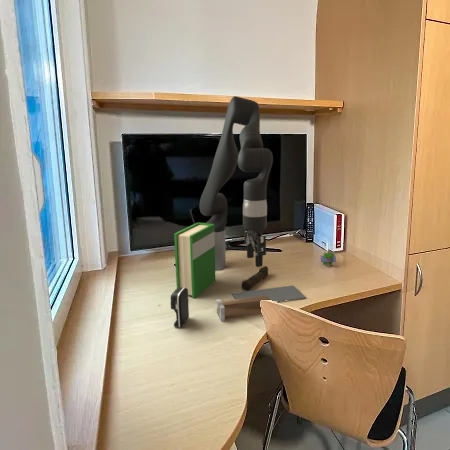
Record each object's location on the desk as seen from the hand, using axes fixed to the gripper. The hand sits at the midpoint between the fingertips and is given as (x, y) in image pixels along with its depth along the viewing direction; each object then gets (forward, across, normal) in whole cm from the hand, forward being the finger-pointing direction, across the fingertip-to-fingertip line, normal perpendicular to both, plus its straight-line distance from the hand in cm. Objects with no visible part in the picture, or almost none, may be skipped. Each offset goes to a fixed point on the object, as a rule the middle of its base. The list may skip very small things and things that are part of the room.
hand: (254, 261), depth 118 cm
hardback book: (+18, +25, +15) cm, 34 cm away
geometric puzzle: (+18, +32, -46) cm, 59 cm away
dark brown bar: (+19, +24, -9) cm, 32 cm away
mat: (+18, +10, -9) cm, 23 cm away
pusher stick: (+18, 0, +3) cm, 18 cm away
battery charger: (+18, 0, +25) cm, 31 cm away
